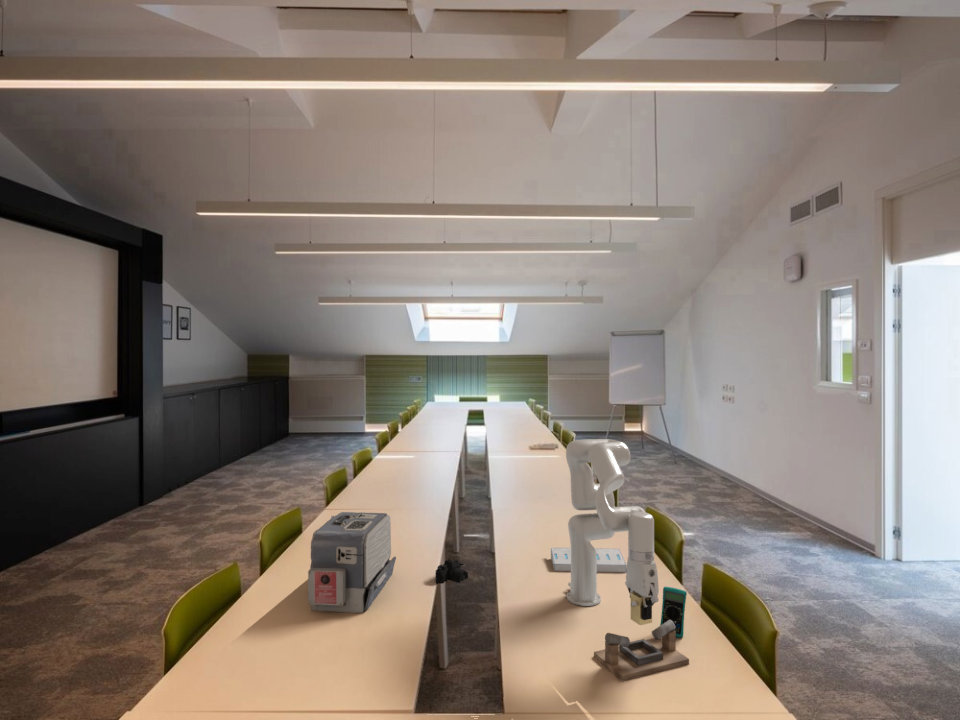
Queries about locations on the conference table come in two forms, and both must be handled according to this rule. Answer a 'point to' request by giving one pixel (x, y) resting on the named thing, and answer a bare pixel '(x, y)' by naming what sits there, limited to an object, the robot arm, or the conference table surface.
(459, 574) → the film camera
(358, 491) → the conference table surface
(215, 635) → the conference table surface
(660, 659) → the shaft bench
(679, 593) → the digital multimeter
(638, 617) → the block
